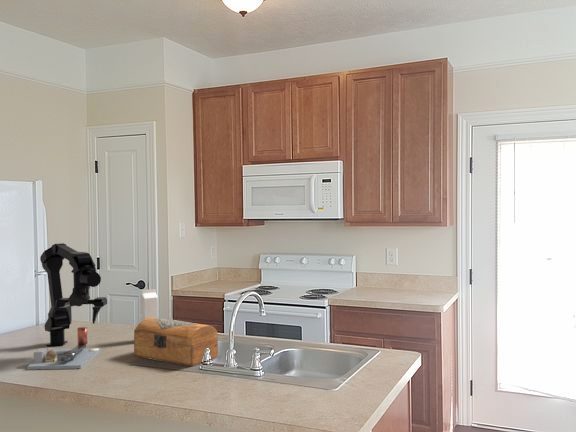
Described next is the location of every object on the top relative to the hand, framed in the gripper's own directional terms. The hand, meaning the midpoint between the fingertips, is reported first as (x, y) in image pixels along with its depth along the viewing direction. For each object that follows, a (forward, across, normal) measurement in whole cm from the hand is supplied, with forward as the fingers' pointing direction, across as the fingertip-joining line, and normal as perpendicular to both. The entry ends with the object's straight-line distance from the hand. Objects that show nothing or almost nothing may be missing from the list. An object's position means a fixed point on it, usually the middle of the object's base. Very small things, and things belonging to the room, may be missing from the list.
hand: (82, 323), depth 222 cm
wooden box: (+12, +38, -9) cm, 41 cm away
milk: (+12, +23, +19) cm, 32 cm away
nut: (+8, -6, -15) cm, 18 cm away
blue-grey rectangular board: (+12, -3, -10) cm, 16 cm away
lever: (+9, 0, -9) cm, 13 cm away
